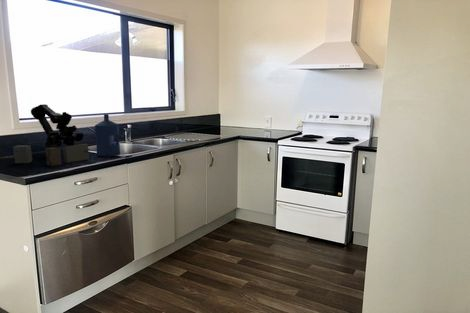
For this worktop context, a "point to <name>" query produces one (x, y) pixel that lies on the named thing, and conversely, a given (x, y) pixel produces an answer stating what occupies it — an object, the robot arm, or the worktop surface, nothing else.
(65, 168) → the worktop surface
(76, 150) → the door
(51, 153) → the oak post
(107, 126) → the water jug
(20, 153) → the small box
